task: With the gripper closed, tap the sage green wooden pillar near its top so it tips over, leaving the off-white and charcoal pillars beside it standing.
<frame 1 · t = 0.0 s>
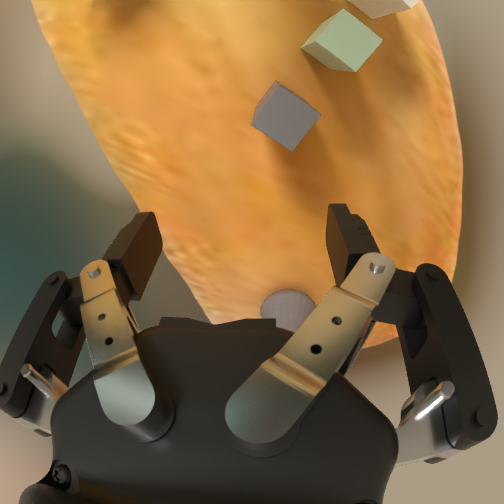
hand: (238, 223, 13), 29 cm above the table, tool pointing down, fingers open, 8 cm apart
charcoal pillar: (280, 103, 34), on the table
coffee pot: (294, 313, 62), on the table
sage green pillar: (325, 46, 29), on the table
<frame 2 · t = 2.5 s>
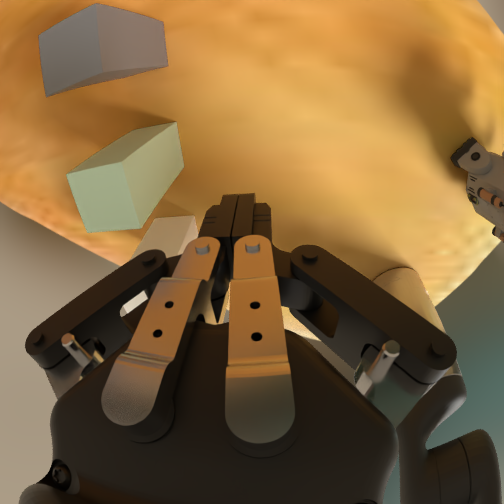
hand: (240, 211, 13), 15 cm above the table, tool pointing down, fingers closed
charcoal pillar: (142, 49, 20), on the table
off white pillar: (178, 234, 33), on the table
figurine: (481, 161, 24), on the table
sage green pillar: (158, 147, 26), on the table
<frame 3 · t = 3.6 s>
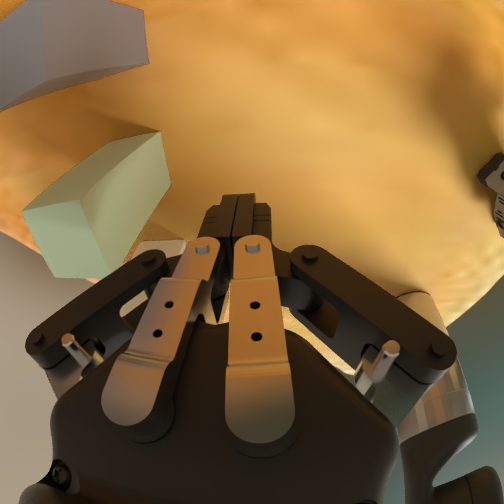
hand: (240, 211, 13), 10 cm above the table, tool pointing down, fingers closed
charcoal pillar: (118, 45, 15), on the table
off white pillar: (167, 259, 29), on the table
sage green pillar: (140, 162, 22), on the table
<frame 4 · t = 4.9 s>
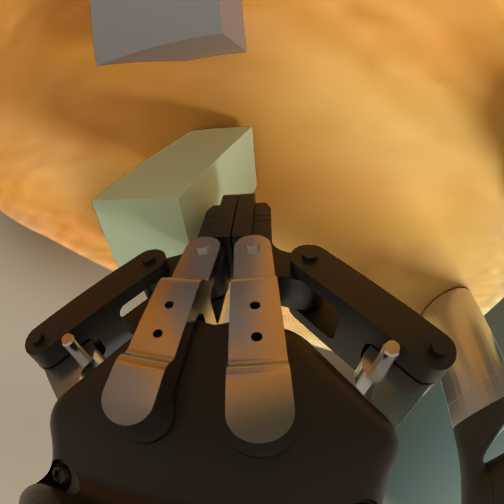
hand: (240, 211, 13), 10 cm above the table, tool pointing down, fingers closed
charcoal pillar: (210, 27, 15), on the table
sage green pillar: (224, 157, 22), on the table, tilted 11°
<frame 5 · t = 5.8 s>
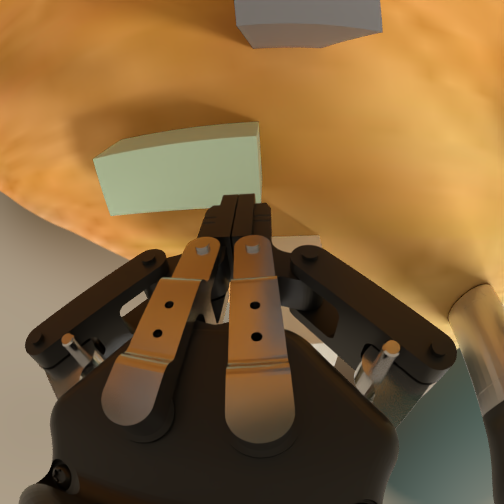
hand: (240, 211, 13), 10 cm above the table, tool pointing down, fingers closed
charcoal pillar: (285, 18, 14), on the table
off white pillar: (293, 256, 28), on the table
sage green pillar: (259, 160, 20), point 2 cm above the table, tilted 90°
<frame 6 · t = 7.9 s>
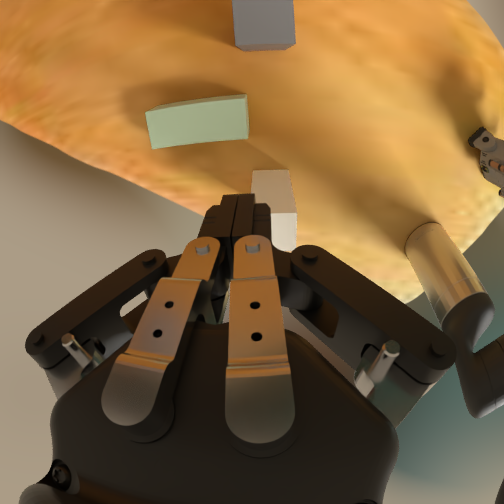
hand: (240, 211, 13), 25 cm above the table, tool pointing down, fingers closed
charcoal pillar: (263, 32, 26), on the table
off white pillar: (271, 185, 40), on the table
figurine: (488, 144, 31), on the table
sage green pillar: (247, 114, 31), point 2 cm above the table, tilted 90°
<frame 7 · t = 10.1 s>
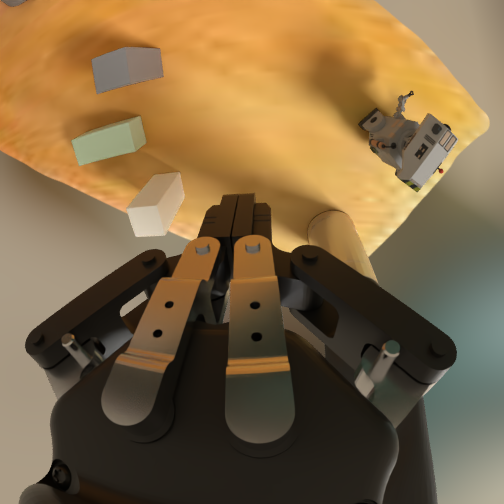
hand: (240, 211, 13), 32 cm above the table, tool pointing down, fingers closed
charcoal pillar: (147, 66, 34), on the table
off white pillar: (169, 185, 47), on the table
figurine: (390, 126, 38), on the table
sage green pillar: (138, 132, 39), point 2 cm above the table, tilted 90°
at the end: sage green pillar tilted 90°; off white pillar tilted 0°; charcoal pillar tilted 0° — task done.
